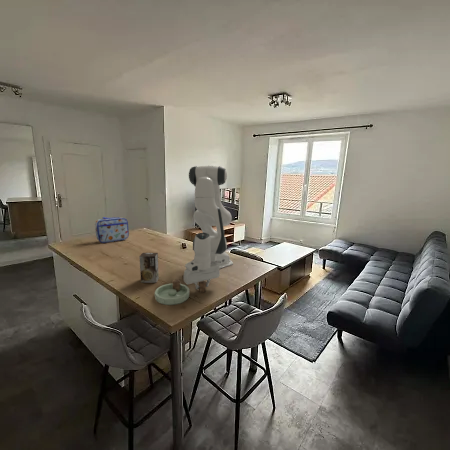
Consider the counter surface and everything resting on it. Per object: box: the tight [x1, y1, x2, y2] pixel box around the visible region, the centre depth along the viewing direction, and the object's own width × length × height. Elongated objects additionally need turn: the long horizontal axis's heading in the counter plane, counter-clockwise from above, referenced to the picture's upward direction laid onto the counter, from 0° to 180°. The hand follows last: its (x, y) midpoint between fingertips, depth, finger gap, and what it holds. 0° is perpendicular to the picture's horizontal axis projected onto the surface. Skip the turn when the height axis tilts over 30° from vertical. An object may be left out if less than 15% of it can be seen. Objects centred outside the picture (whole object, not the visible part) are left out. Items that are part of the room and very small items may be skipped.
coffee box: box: [139, 252, 160, 284], centre depth 140 cm, size 9×6×16 cm
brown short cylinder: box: [197, 280, 207, 293], centre depth 131 cm, size 4×4×5 cm
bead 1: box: [172, 279, 181, 292], centre depth 128 cm, size 4×4×5 cm
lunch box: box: [94, 216, 130, 244], centre depth 216 cm, size 28×10×22 cm, turn 130°
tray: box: [154, 282, 191, 306], centre depth 124 cm, size 17×17×3 cm
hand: (202, 287), depth 131 cm, fingers closed on brown short cylinder, 4 cm apart
